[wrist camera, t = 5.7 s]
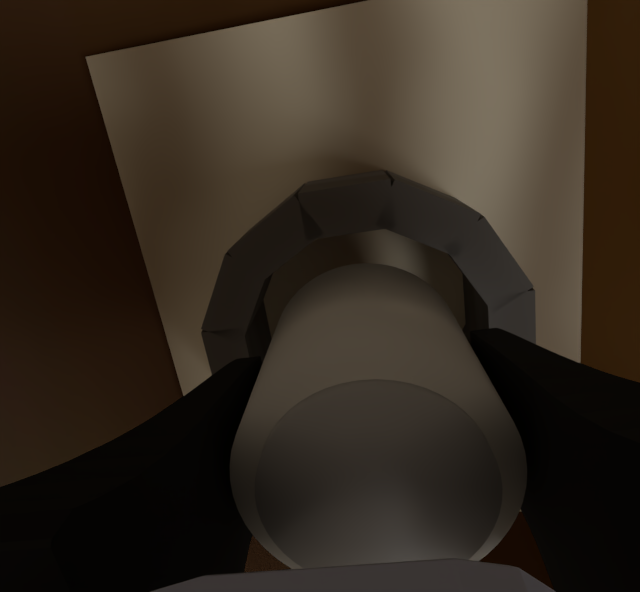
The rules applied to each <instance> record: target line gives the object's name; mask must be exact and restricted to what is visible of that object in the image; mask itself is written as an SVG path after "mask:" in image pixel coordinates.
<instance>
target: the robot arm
mask: <svg viewBox="0 0 640 592" xmlns="http://www.w3.org/2000/svg"><path fill="white" fill-rule="evenodd" d="M470 340H471V347H472V349H473V350H474V352H475V354H476V356H477V357H478V359H479V361H480V363H481V365H482V366H483V368H484V370H485V372H486V373H487V375H488V377H489V379H490V381H491V382H492V384H493V386H494V388H495V389H496V391H497V393H498V395H499V396H500V398H501V400H502V402H503V404H504V405H505V407H506V409H507V411H508V412H509V414H510V416H511V418H512V419H513V421H514V423H515V425H516V428H517V430H518V432H519V434H520V436H521V439H522V443H523V446H524V450H525V453H526V462H527V485H526V490H525V495H524V499H523V503H522V505H521V508H520V509H521V511H522V513H523V515H524V517H525V519H526V521H527V523H528V525H529V527H530V529H531V532H532V534H533V536H534V538H535V541H536V543H537V545H538V548H539V551H540V553H541V556H542V558H543V561H544V564H545V566H546V569H547V572H548V574H549V577H550V579H551V582H552V585H553V587H554V590H555V591H554V590H553V589H551V588H549V587H548V586H546V585H545V584H543V583H542V582H540V581H539V580H537V579H536V578H534V577H532V576H531V575H529V574H528V573H526V572H525V571H523V570H522V569H520V568H519V567H514V566H510V565H503V564H495V563H488V562H480V561H472V560H464V559H457V558H448V559H433V560H419V561H404V562H390V563H375V564H361V565H346V566H332V567H317V568H302V569H288V570H273V571H259V572H244V569H245V563H246V559H247V554H248V550H249V545H250V541H251V538H252V533H251V532H250V530H249V529H248V527H247V526H246V525H245V523H244V521H243V519H242V517H241V515H240V513H239V511H238V509H237V506H236V503H235V500H234V498H233V494H232V489H231V483H230V466H229V465H230V457H231V449H232V446H233V443H234V439H235V436H236V433H237V430H238V427H239V425H240V422H241V419H242V417H243V414H244V411H245V409H246V406H247V403H248V401H249V398H250V396H251V393H252V390H253V388H254V385H255V382H256V380H257V377H258V374H259V372H260V369H261V366H262V361H261V357H260V356H256V357H248V358H240V359H235V360H234V361H232V362H230V363H228V364H227V365H225V366H224V367H223V368H221V369H220V370H218V371H217V372H216V373H214V374H213V375H212V376H210V377H209V378H208V379H206V380H205V381H204V382H202V383H201V384H200V385H198V386H197V387H196V388H194V389H193V390H192V391H190V392H189V393H187V394H186V395H185V396H183V397H182V398H180V399H179V400H177V401H176V402H174V403H173V404H172V405H170V406H169V407H167V408H166V409H164V410H163V411H161V412H160V413H158V414H157V415H155V416H154V417H152V418H151V419H149V420H147V421H146V422H144V423H142V424H141V425H139V426H137V427H136V428H134V429H132V430H130V431H128V432H127V433H125V434H123V435H121V436H119V437H118V438H116V439H114V440H112V441H110V442H108V443H106V444H104V445H102V446H100V447H97V448H95V449H93V450H91V451H89V452H87V453H85V454H83V455H80V456H78V457H76V458H74V459H72V460H70V461H68V462H65V463H63V464H60V465H58V466H56V467H53V468H51V469H48V470H46V471H43V472H41V473H38V474H35V475H33V476H30V477H27V478H25V479H22V480H19V481H17V482H14V483H11V484H8V485H5V486H2V487H0V592H640V383H638V382H635V381H631V380H628V379H625V378H621V377H618V376H614V375H611V374H608V373H605V372H602V371H600V370H597V369H594V368H592V367H589V366H586V365H584V364H581V363H578V362H576V361H573V360H571V359H568V358H566V357H563V356H561V355H559V354H556V353H554V352H552V351H549V350H547V349H545V348H543V347H540V346H538V345H536V344H534V343H532V342H530V341H527V340H525V339H523V338H521V337H519V336H517V335H514V334H512V333H510V332H508V331H505V330H502V329H499V328H490V329H481V330H473V331H470Z"/></svg>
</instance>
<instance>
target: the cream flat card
mask: <svg viewBox="0 0 640 592" xmlns="http://www.w3.org/2000/svg"><path fill="white" fill-rule="evenodd" d="M586 40H587V0H367V1H362V2H357V3H352V4H347V5H342V6H337V7H332V8H327V9H322V10H317V11H312V12H307V13H302V14H297V15H292V16H287V17H282V18H277V19H272V20H267V21H262V22H257V23H252V24H247V25H242V26H237V27H232V28H227V29H222V30H217V31H212V32H207V33H202V34H197V35H192V36H187V37H182V38H177V39H172V40H167V41H162V42H157V43H152V44H147V45H142V46H137V47H132V48H127V49H122V50H117V51H112V52H107V53H102V54H97V55H92V56H87V57H86V60H87V64H88V67H89V71H90V74H91V78H92V81H93V85H94V88H95V92H96V95H97V98H98V102H99V105H100V109H101V112H102V116H103V119H104V123H105V126H106V130H107V133H108V137H109V140H110V143H111V147H112V150H113V154H114V157H115V161H116V164H117V168H118V171H119V175H120V178H121V182H122V185H123V188H124V192H125V195H126V199H127V202H128V206H129V209H130V213H131V216H132V220H133V223H134V227H135V230H136V233H137V237H138V240H139V244H140V247H141V251H142V254H143V258H144V261H145V265H146V268H147V272H148V275H149V278H150V282H151V285H152V289H153V292H154V296H155V299H156V303H157V306H158V310H159V313H160V317H161V320H162V324H163V327H164V330H165V334H166V337H167V341H168V344H169V348H170V351H171V355H172V358H173V362H174V365H175V369H176V372H177V375H178V379H179V382H180V386H181V389H182V393H183V396H185V395H186V394H187V393H189V392H190V391H192V390H193V389H194V388H196V387H197V386H198V385H200V384H201V383H202V382H204V381H205V380H206V379H208V378H209V377H210V376H212V375H213V374H214V373H216V372H217V371H218V370H220V369H221V368H223V367H224V366H225V365H227V364H228V363H230V362H232V361H234V360H235V359H240V358H248V357H256V356H260V357H261V361H262V364H263V361H264V358H265V356H266V353H267V350H268V348H269V345H270V342H271V340H272V337H273V334H274V332H275V329H276V326H277V324H278V321H279V319H280V317H281V314H282V312H283V310H284V308H285V307H286V305H287V304H288V302H289V301H290V299H291V298H292V297H293V296H294V295H295V294H296V293H297V291H298V290H300V289H301V288H302V287H303V286H304V285H305V284H306V283H308V282H309V281H311V280H312V279H314V278H315V277H317V276H319V275H321V274H323V273H325V272H327V271H329V270H332V269H335V268H338V267H341V266H346V265H351V264H361V263H373V264H383V265H389V266H393V267H396V268H399V269H403V270H405V271H407V272H410V273H412V274H414V275H416V276H417V277H419V278H421V279H422V280H424V281H425V282H427V283H428V284H429V285H430V286H431V287H433V288H434V289H435V290H436V291H437V292H438V293H439V294H440V296H441V297H442V298H443V299H444V300H445V302H446V303H447V305H448V307H449V308H450V310H451V311H452V313H453V315H454V317H455V318H456V320H457V322H458V324H459V326H460V327H461V329H462V331H463V333H464V334H465V336H466V338H467V340H468V342H469V343H470V345H471V340H470V331H473V330H481V329H490V328H499V329H502V330H505V331H508V332H510V333H512V334H514V335H517V336H519V337H521V338H523V339H525V340H527V341H530V342H532V343H534V344H536V345H538V346H540V347H543V348H545V349H547V350H549V351H552V352H554V353H556V354H559V355H561V356H563V357H566V358H568V359H571V360H573V361H576V362H578V363H580V359H581V306H582V253H583V200H584V146H585V93H586ZM519 512H521V509H520V510H519Z"/></svg>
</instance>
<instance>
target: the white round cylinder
mask: <svg viewBox="0 0 640 592" xmlns="http://www.w3.org/2000/svg"><path fill="white" fill-rule="evenodd" d="M229 466H230V483H231V489H232V494H233V498H234V500H235V503H236V506H237V509H238V511H239V513H240V515H241V517H242V519H243V521H244V523H245V525H246V526H247V527H248V529H249V530H250V532H251V533H252V534H253V536H254V537H255V538H256V539H257V540H258V541H259V543H260V544H261V545H262V546H263V547H264V548H265V549H266V550H267V551H268V552H270V553H271V554H272V555H273V556H274V557H276V558H277V559H278V560H279V561H281V562H282V563H284V564H285V565H287V566H288V567H290V568H291V569H302V568H317V567H332V566H346V565H361V564H375V563H390V562H404V561H419V560H433V559H448V558H457V559H464V560H472V561H480V560H481V559H482V558H484V557H485V556H486V555H487V554H488V553H489V552H490V551H492V550H493V549H494V548H495V547H496V546H497V545H498V544H499V543H500V541H501V540H502V539H503V537H504V536H505V535H506V534H507V532H508V531H509V530H510V528H511V526H512V524H513V523H514V521H515V519H516V518H517V515H518V513H519V510H520V508H521V505H522V503H523V499H524V495H525V490H526V485H527V462H526V453H525V450H524V446H523V443H522V439H521V436H520V434H519V432H518V430H517V428H516V425H515V423H514V421H513V419H512V418H511V416H510V414H509V412H508V411H507V409H506V407H505V405H504V404H503V402H502V400H501V398H500V396H499V395H498V393H497V391H496V389H495V388H494V386H493V384H492V382H491V381H490V379H489V377H488V375H487V373H486V372H485V370H484V368H483V366H482V365H481V363H480V361H479V359H478V357H477V356H476V354H475V352H474V350H473V349H472V347H471V345H470V343H469V342H468V340H467V338H466V336H465V334H464V333H463V331H462V329H461V327H460V326H459V324H458V322H457V320H456V318H455V317H454V315H453V313H452V311H451V310H450V308H449V307H448V305H447V303H446V302H445V300H444V299H443V298H442V297H441V296H440V294H439V293H438V292H437V291H436V290H435V289H434V288H433V287H431V286H430V285H429V284H428V283H427V282H425V281H424V280H422V279H421V278H419V277H417V276H416V275H414V274H412V273H410V272H407V271H405V270H403V269H399V268H396V267H393V266H389V265H383V264H373V263H361V264H351V265H346V266H341V267H338V268H335V269H332V270H329V271H327V272H325V273H323V274H321V275H319V276H317V277H315V278H314V279H312V280H311V281H309V282H308V283H306V284H305V285H304V286H303V287H302V288H301V289H300V290H298V291H297V293H296V294H295V295H294V296H293V297H292V298H291V299H290V301H289V302H288V304H287V305H286V307H285V308H284V310H283V312H282V314H281V317H280V319H279V321H278V324H277V326H276V329H275V332H274V334H273V337H272V340H271V342H270V345H269V348H268V350H267V353H266V356H265V358H264V361H263V364H262V366H261V369H260V372H259V374H258V377H257V380H256V382H255V385H254V388H253V390H252V393H251V396H250V398H249V401H248V403H247V406H246V409H245V411H244V414H243V417H242V419H241V422H240V425H239V427H238V430H237V433H236V436H235V439H234V443H233V446H232V449H231V457H230V465H229Z"/></svg>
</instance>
